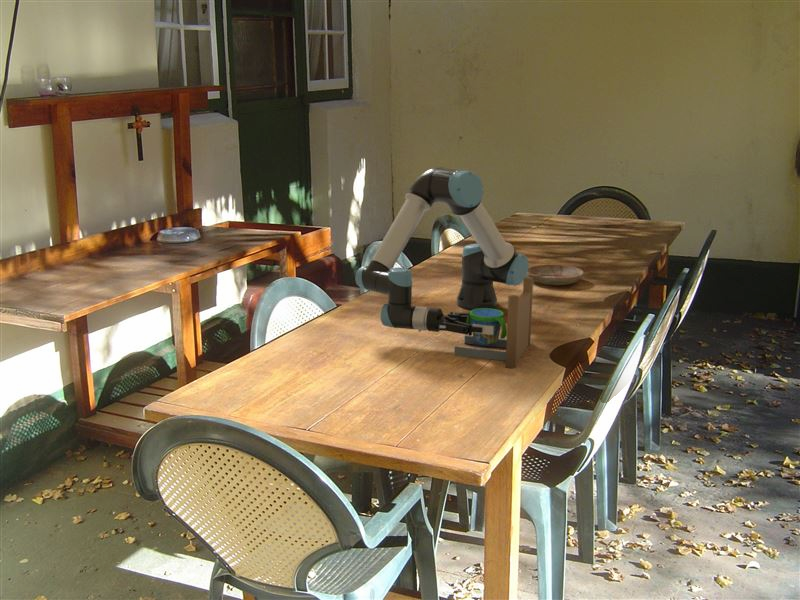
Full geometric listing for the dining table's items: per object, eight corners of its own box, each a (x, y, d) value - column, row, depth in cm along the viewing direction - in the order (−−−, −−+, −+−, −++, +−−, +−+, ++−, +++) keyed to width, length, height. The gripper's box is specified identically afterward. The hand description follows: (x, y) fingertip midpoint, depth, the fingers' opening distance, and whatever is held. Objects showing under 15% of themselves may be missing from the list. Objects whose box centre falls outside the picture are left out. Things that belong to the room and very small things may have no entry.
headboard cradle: (470, 336, 311) (471, 272, 305) (531, 342, 305) (533, 277, 299) (448, 361, 286) (450, 292, 280) (514, 368, 280) (517, 298, 274)
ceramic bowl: (515, 278, 391) (515, 267, 390) (563, 273, 400) (563, 262, 399) (544, 291, 370) (545, 279, 369) (594, 286, 379) (595, 274, 378)
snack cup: (514, 346, 292) (516, 315, 289) (489, 352, 286) (490, 320, 283) (482, 334, 304) (483, 304, 302) (457, 339, 298) (458, 309, 296)
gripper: (437, 321, 310) (503, 328, 304) (418, 340, 290) (488, 347, 283) (438, 299, 308) (504, 305, 302) (418, 316, 288) (489, 323, 281)
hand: (496, 326), depth 293 cm, fingers closed on snack cup, 9 cm apart
